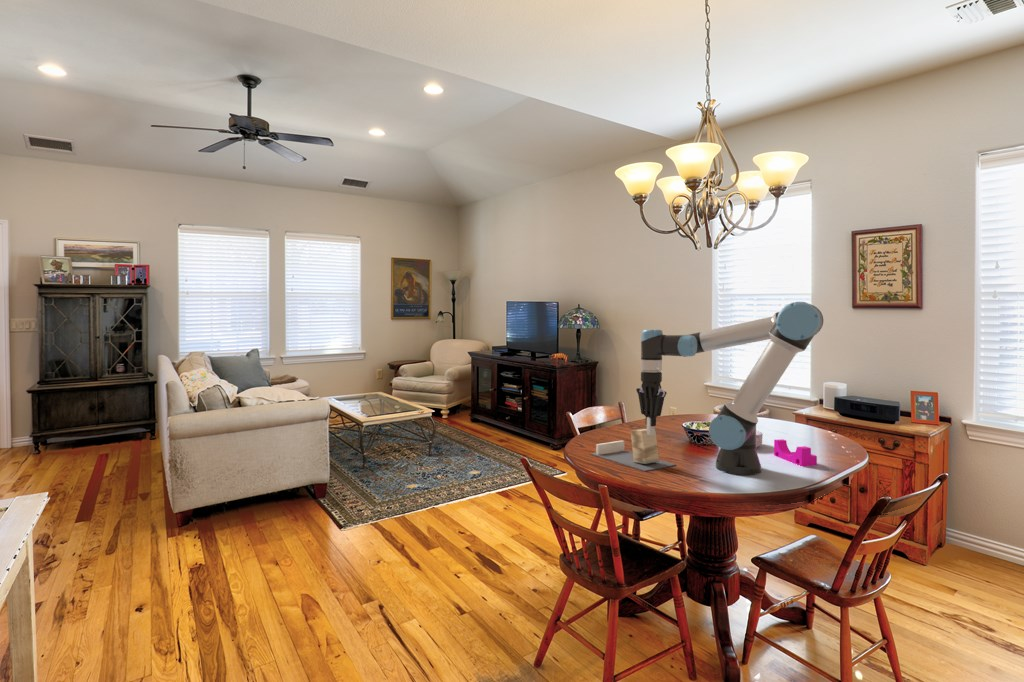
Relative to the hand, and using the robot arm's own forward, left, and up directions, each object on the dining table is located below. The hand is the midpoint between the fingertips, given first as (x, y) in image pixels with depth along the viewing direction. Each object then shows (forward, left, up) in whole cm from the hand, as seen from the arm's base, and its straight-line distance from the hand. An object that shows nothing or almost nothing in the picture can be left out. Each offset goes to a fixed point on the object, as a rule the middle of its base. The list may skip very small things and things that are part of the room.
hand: (650, 434), depth 196 cm
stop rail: (+22, 0, -11) cm, 25 cm away
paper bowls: (-2, -52, -12) cm, 53 cm away
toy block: (-26, -50, -12) cm, 57 cm away
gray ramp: (+10, 0, -12) cm, 15 cm away
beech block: (+2, 0, -11) cm, 11 cm away
